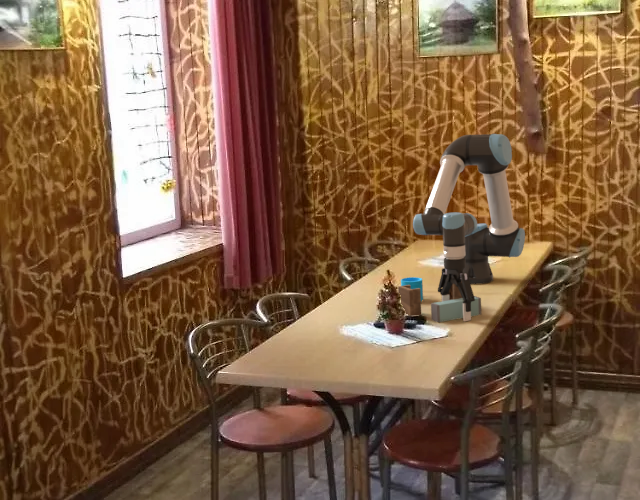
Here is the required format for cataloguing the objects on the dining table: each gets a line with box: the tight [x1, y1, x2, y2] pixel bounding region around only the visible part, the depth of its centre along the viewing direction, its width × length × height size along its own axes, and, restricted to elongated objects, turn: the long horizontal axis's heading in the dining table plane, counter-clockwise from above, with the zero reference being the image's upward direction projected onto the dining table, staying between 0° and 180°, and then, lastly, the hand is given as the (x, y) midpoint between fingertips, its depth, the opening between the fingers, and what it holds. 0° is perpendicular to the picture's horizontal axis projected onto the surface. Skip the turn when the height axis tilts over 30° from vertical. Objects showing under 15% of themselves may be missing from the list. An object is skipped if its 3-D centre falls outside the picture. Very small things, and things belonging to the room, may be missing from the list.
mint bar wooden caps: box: [397, 281, 462, 316], centre depth 340 cm, size 23×8×10 cm, turn 114°
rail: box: [430, 295, 482, 323], centre depth 329 cm, size 18×4×6 cm, turn 114°
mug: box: [400, 276, 424, 302], centre depth 359 cm, size 12×8×8 cm
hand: (456, 316), depth 330 cm, fingers open, 13 cm apart
